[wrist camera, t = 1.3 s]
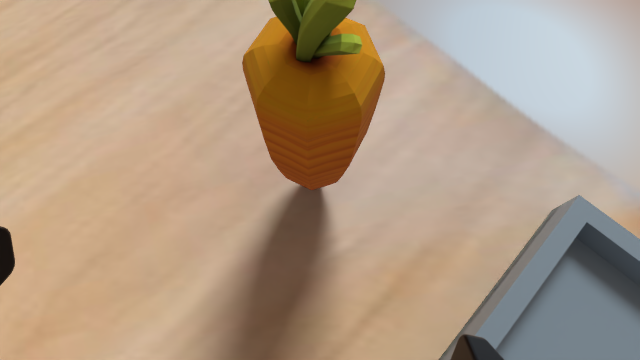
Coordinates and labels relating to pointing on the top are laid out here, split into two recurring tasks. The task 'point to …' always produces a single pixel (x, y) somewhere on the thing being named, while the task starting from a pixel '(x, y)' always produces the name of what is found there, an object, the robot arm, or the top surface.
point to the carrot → (313, 87)
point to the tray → (566, 292)
